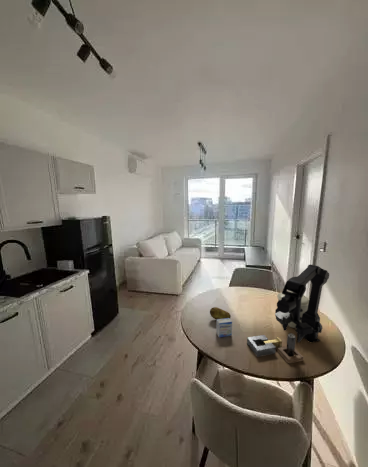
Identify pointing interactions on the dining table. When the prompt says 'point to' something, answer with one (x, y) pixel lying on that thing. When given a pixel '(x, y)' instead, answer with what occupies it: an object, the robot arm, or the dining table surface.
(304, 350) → the dining table surface
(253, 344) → the socket block
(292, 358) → the brown square frame
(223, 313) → the potato
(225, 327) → the medicine box
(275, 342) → the drift key
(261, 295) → the dining table surface
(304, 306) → the canister
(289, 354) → the grey peg
